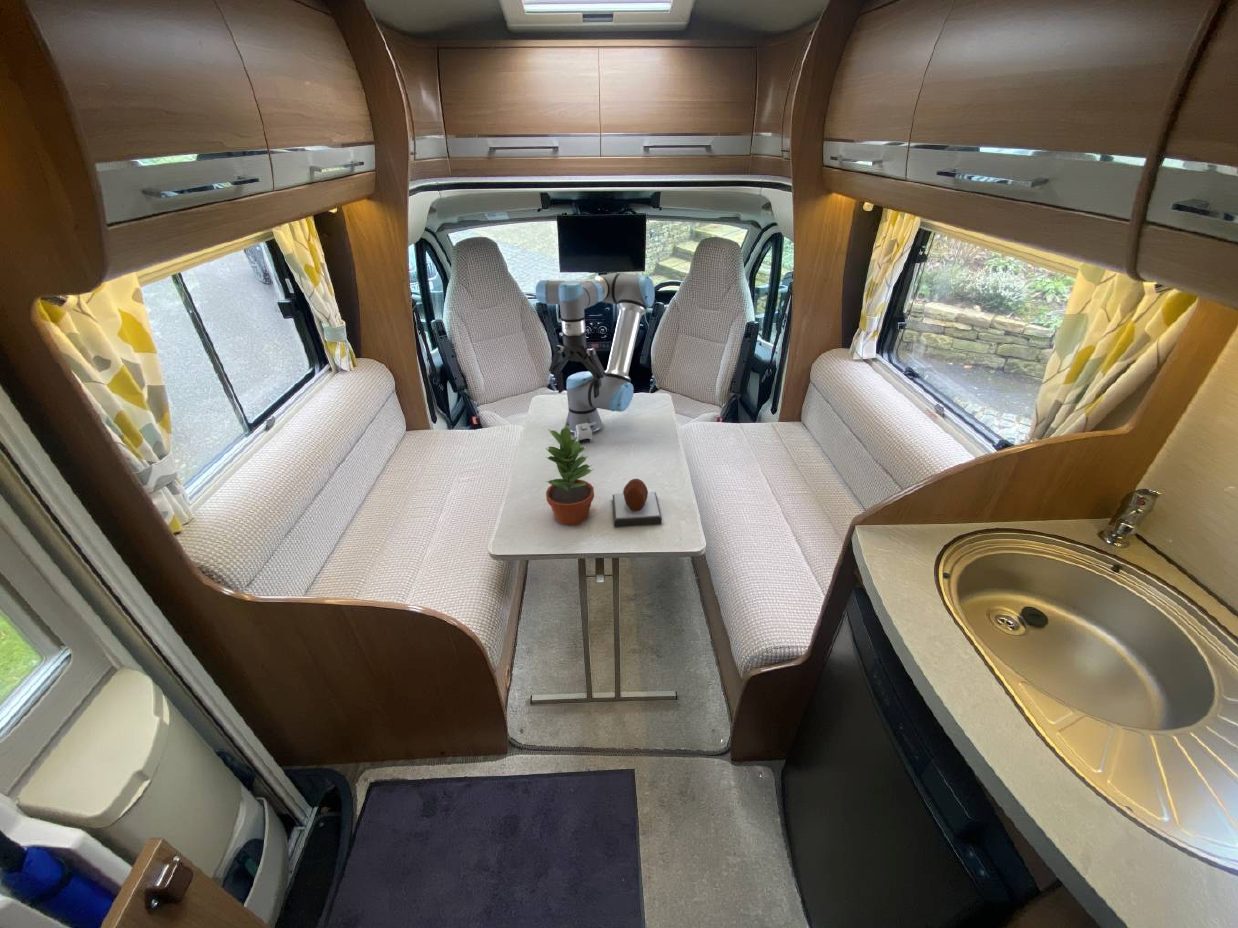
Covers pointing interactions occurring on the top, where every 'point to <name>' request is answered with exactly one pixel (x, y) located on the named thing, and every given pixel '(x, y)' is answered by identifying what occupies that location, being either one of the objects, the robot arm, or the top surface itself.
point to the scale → (641, 517)
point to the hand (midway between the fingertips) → (578, 394)
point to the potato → (635, 494)
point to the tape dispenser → (583, 433)
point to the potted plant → (569, 481)
